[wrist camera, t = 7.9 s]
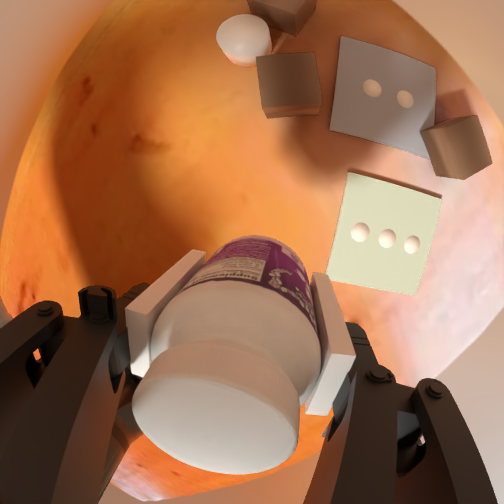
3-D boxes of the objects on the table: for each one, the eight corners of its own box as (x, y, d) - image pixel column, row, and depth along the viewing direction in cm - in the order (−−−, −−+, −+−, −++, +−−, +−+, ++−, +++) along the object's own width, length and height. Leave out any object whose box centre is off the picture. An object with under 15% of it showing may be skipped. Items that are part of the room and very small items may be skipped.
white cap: (221, 66, 19) (211, 53, 16) (229, 29, 18) (221, 14, 15) (268, 69, 19) (265, 55, 16) (275, 31, 17) (272, 15, 15)
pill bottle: (319, 314, 14) (342, 475, 5) (228, 335, 15) (172, 481, 6) (292, 217, 13) (300, 322, 4) (192, 248, 14) (68, 357, 5)
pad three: (323, 277, 23) (324, 279, 22) (347, 171, 20) (348, 171, 20) (413, 293, 22) (414, 295, 22) (440, 199, 19) (442, 199, 19)
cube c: (436, 175, 19) (463, 179, 15) (419, 131, 18) (446, 127, 14) (464, 161, 18) (492, 163, 14) (449, 119, 17) (476, 114, 13)
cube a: (267, 118, 20) (261, 107, 16) (262, 74, 19) (255, 56, 15) (317, 115, 19) (322, 103, 16) (311, 71, 18) (314, 52, 14)
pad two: (328, 130, 19) (329, 129, 19) (340, 37, 17) (340, 35, 16) (427, 159, 19) (430, 159, 18) (434, 69, 16) (435, 68, 15)
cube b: (295, 37, 17) (254, 21, 17) (315, 9, 16) (275, -6, 16) (295, 14, 14) (246, -2, 14) (317, -15, 12) (270, -30, 12)
